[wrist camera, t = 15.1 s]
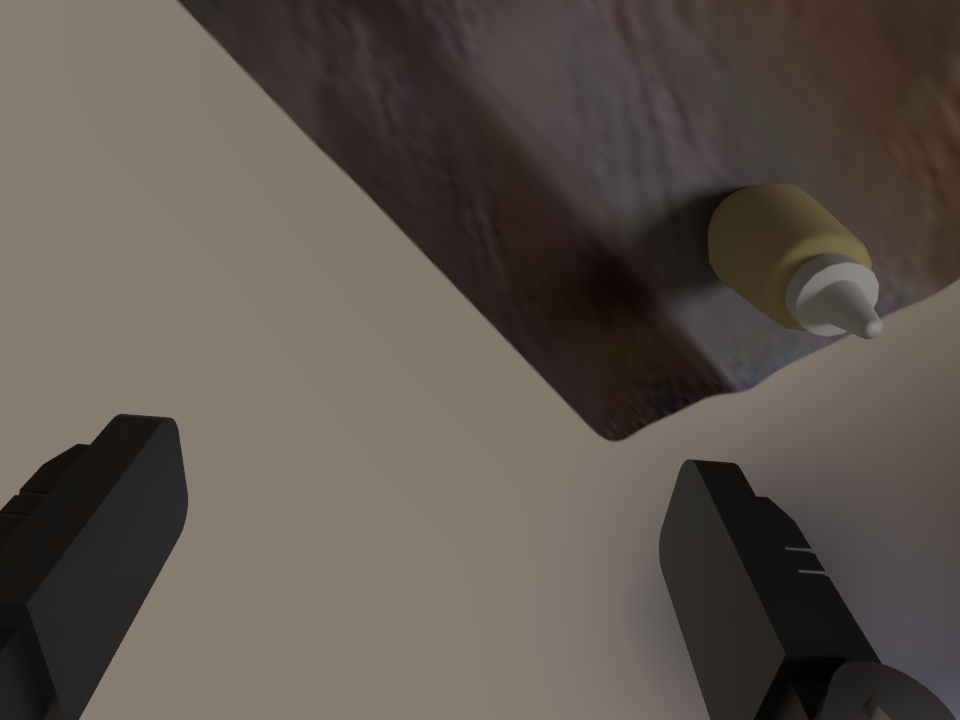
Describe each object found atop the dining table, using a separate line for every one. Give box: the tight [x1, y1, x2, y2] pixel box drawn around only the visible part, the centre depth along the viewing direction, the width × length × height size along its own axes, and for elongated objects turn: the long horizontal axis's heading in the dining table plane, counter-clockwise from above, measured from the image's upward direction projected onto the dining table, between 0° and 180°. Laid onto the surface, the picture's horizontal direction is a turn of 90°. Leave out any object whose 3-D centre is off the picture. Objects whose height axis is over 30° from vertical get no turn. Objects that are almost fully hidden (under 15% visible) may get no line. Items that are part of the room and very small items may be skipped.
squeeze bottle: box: [708, 183, 883, 339], centre depth 42 cm, size 8×8×18 cm
